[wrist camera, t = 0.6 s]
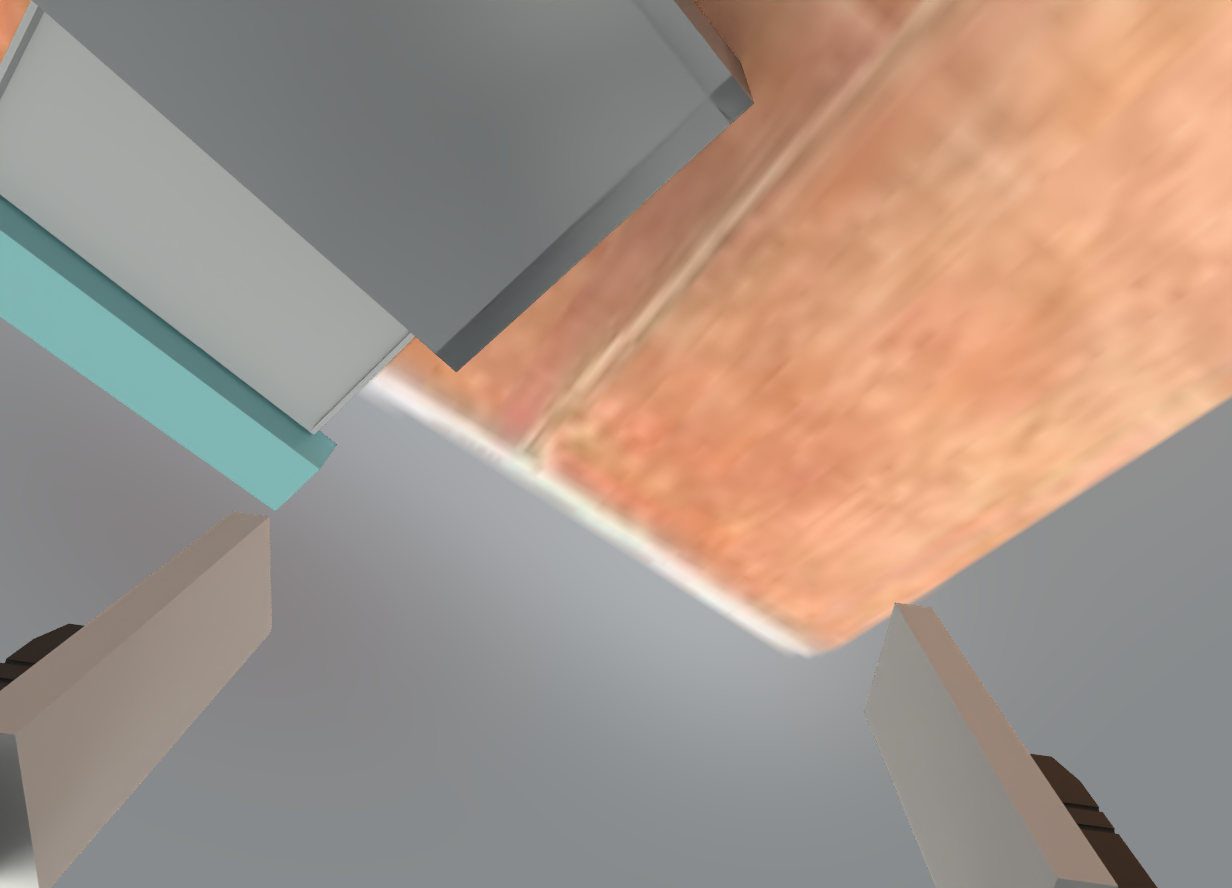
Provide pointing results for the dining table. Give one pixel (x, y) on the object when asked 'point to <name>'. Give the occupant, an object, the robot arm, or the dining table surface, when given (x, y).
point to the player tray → (171, 273)
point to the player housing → (433, 129)
